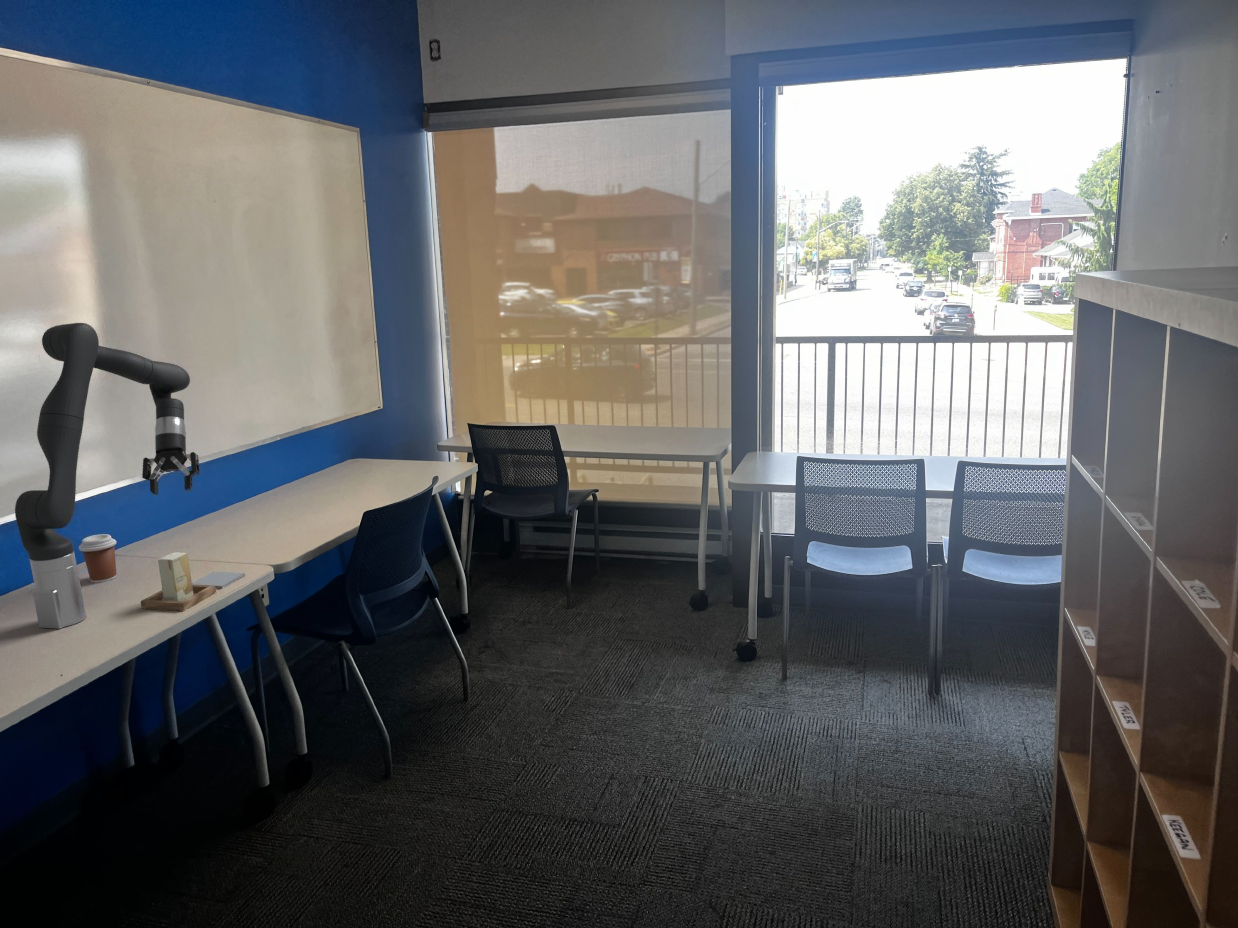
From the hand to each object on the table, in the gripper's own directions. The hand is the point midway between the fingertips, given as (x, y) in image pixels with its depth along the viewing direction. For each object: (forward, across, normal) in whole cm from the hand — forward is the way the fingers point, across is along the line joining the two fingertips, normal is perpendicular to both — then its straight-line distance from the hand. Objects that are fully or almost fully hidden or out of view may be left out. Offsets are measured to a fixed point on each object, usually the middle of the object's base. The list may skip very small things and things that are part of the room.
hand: (171, 492), depth 241 cm
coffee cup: (+19, -24, +14) cm, 34 cm away
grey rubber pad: (+25, +9, +6) cm, 27 cm away
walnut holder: (+31, +4, -5) cm, 31 cm away
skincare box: (+31, +4, -5) cm, 31 cm away
